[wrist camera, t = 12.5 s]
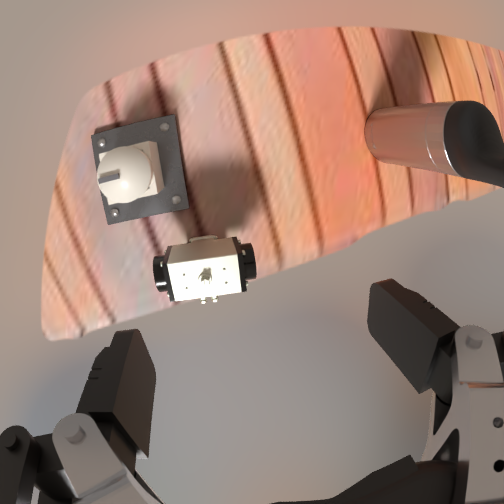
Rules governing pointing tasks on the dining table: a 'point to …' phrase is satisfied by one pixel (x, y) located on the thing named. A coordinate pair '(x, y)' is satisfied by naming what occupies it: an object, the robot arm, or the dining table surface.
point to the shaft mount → (170, 160)
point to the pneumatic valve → (204, 268)
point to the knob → (130, 172)
